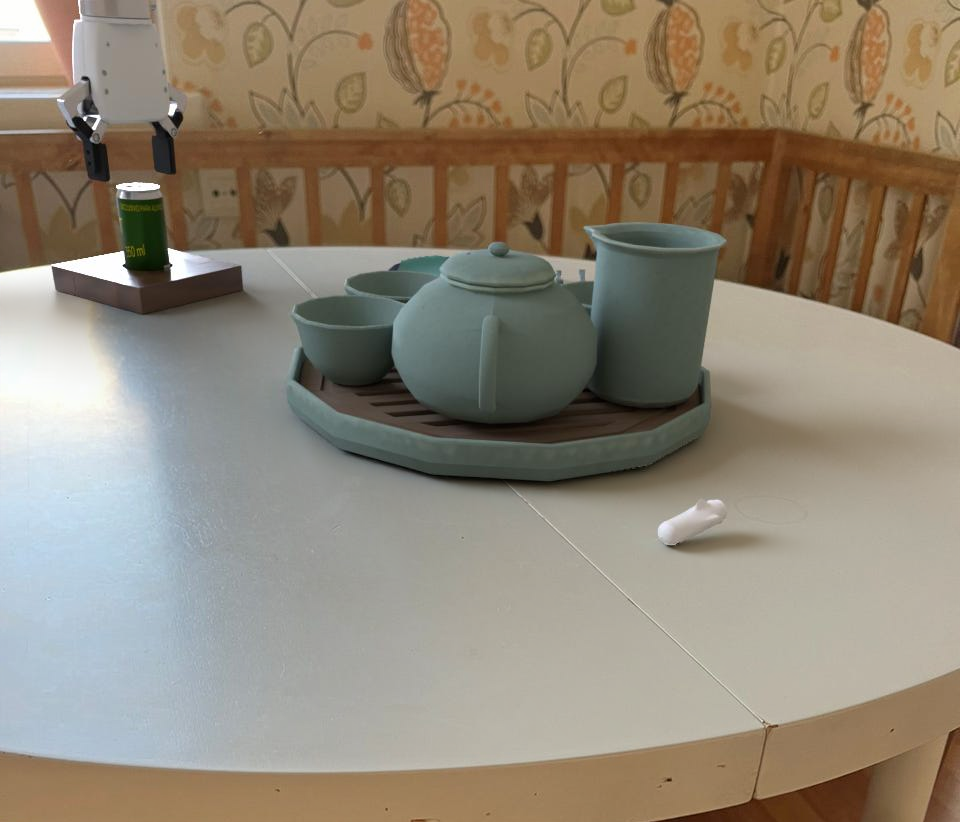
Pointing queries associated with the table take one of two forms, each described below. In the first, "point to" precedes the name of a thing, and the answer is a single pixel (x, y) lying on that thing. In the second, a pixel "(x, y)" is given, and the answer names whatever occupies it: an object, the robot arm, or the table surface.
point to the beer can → (143, 227)
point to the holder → (147, 281)
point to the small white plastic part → (692, 521)
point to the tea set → (516, 359)
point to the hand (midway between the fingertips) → (133, 176)
